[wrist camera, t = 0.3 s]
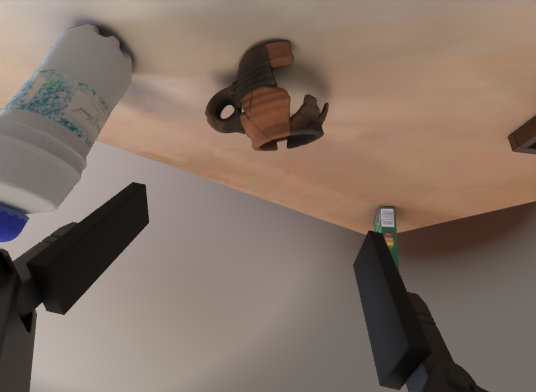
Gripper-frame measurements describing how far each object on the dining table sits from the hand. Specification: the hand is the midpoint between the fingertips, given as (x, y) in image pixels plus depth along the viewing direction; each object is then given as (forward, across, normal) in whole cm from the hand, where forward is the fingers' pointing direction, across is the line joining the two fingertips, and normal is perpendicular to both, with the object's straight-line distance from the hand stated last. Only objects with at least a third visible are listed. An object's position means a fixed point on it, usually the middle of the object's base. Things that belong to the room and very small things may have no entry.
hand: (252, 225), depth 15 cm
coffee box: (+32, +22, -15) cm, 42 cm away
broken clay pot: (+17, -2, +6) cm, 18 cm away
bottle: (+16, -19, +6) cm, 25 cm away
